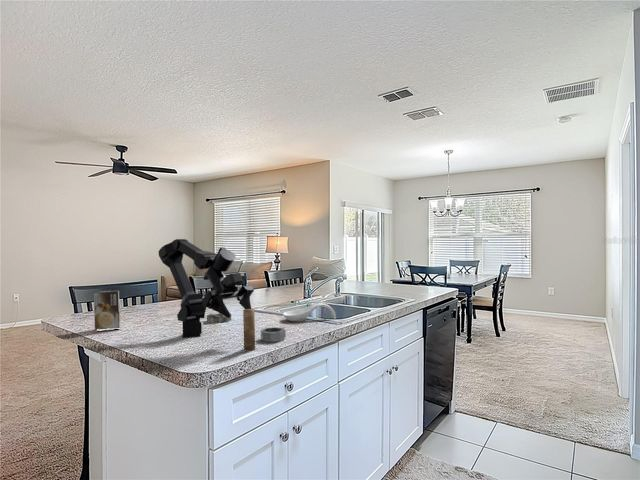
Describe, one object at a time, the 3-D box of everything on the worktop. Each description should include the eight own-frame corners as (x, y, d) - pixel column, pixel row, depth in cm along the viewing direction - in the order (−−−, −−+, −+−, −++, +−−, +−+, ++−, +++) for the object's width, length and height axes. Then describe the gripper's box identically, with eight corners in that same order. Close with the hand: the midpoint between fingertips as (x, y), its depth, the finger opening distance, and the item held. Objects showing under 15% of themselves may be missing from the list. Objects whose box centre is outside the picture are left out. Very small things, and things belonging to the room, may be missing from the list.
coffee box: (120, 327, 163) (120, 289, 163) (119, 330, 157) (119, 291, 157) (96, 329, 159) (95, 291, 159) (94, 332, 153) (93, 293, 153)
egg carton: (207, 324, 166) (207, 315, 166) (206, 321, 173) (206, 312, 173) (232, 321, 170) (232, 312, 170) (229, 318, 177) (229, 310, 177)
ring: (263, 343, 132) (263, 333, 132) (259, 337, 140) (259, 328, 140) (287, 340, 134) (287, 331, 134) (281, 335, 142) (281, 326, 142)
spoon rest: (284, 324, 163) (283, 307, 163) (282, 318, 175) (281, 303, 175) (337, 321, 167) (337, 304, 167) (332, 316, 179) (332, 301, 179)
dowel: (244, 351, 122) (244, 311, 122) (243, 348, 125) (242, 309, 126) (255, 350, 123) (255, 310, 123) (254, 347, 127) (253, 308, 127)
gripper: (206, 266, 123) (228, 302, 116) (249, 263, 138) (272, 295, 131) (192, 289, 128) (213, 325, 121) (236, 283, 143) (257, 316, 136)
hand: (240, 314), depth 127 cm, fingers open, 9 cm apart
